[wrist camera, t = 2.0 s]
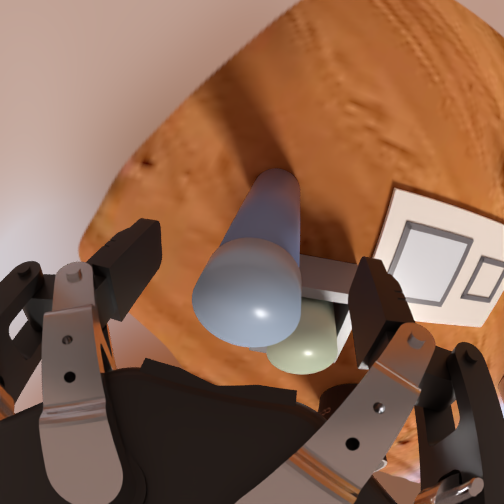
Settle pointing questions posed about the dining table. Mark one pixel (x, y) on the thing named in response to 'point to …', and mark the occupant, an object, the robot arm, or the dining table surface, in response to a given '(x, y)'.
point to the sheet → (442, 259)
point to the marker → (256, 268)
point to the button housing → (327, 290)
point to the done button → (308, 340)
